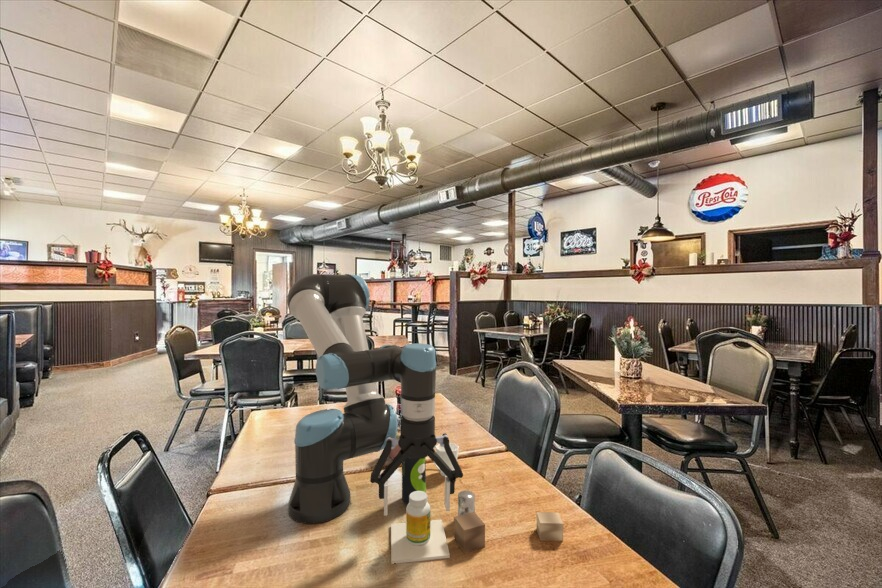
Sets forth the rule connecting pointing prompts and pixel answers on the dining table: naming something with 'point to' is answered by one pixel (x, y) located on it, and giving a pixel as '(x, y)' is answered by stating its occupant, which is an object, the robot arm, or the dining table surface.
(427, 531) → the supplement bottle
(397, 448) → the apple
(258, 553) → the dining table surface
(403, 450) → the robot arm
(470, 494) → the cylinder
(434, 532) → the coaster
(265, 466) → the dining table surface
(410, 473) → the beverage can
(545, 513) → the oak block
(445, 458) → the cup
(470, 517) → the walnut block
